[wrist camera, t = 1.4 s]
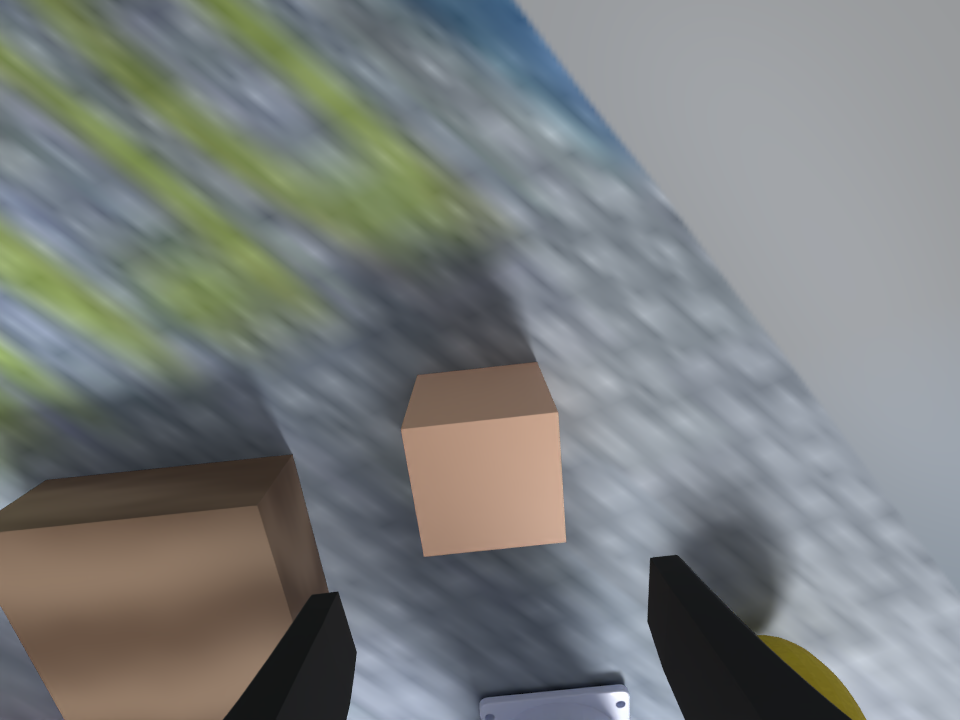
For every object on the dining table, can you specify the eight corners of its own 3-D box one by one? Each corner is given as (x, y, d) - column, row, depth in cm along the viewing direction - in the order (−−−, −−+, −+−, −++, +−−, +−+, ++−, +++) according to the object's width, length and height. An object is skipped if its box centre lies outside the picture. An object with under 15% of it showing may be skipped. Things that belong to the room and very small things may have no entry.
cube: (544, 466, 21) (566, 542, 16) (434, 477, 21) (424, 557, 16) (536, 361, 20) (558, 412, 15) (417, 374, 20) (401, 429, 15)
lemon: (691, 686, 26) (784, 890, 18) (683, 608, 24) (783, 798, 16) (794, 668, 25) (932, 867, 18) (794, 588, 24) (947, 772, 16)
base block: (344, 635, 25) (321, 715, 21) (135, 656, 25) (75, 739, 21) (295, 450, 21) (257, 505, 17) (52, 475, 21) (-39, 536, 17)
